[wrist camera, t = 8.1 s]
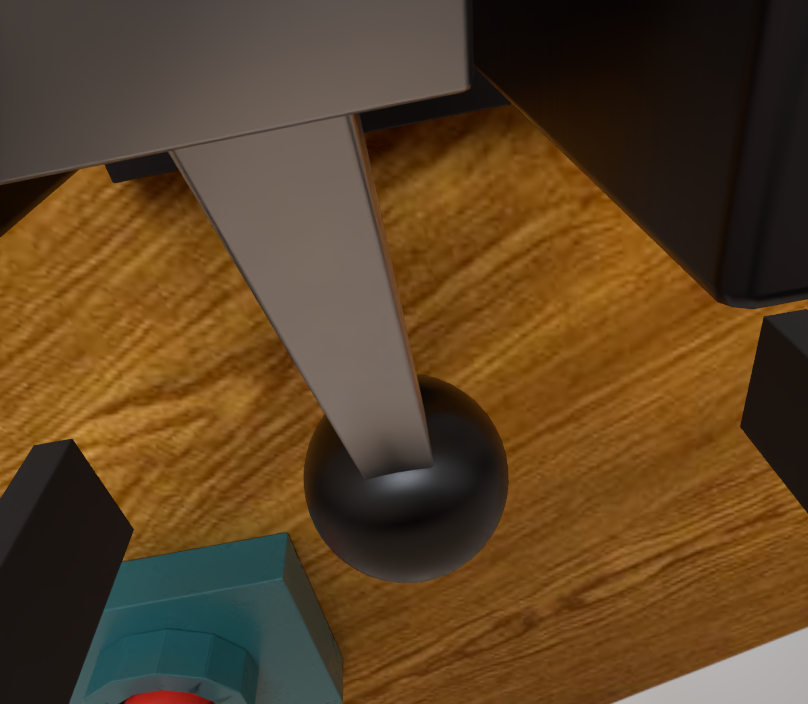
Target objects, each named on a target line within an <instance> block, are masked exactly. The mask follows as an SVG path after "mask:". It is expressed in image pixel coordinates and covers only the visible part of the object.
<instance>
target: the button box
mask: <svg viewBox="0 0 808 704" xmlns="http://www.w3.org/2000/svg"><path fill="white" fill-rule="evenodd" d="M160 690H165V691H176V692H187V693H193V694H195V695H198V696H200V697H203V698H205V699H208V700H210V701H212V702H214V703H215V704H341V703H343V657H342V655H341V653H340V651H339V648H338V646H337V644H336V641H335V639H334V637H333V635H332V632H331V630H330V628H329V626H328V623H327V621H326V619H325V617H324V614H323V612H322V610H321V608H320V605H319V603H318V601H317V599H316V596H315V594H314V592H313V590H312V587H311V585H310V583H309V581H308V578H307V576H306V574H305V572H304V569H303V567H302V565H301V563H300V560H299V558H298V556H297V554H296V551H295V549H294V547H293V545H292V542H291V540H290V538H289V535H288V533H281V534H276V535H270V536H265V537H259V538H253V539H248V540H242V541H237V542H231V543H226V544H220V545H215V546H209V547H204V548H198V549H192V550H187V551H181V552H176V553H170V554H165V555H159V556H154V557H148V558H143V559H137V560H131V561H126V562H122V563H121V565H120V568H119V571H118V573H117V576H116V579H115V581H114V584H113V587H112V590H111V592H110V595H109V598H108V600H107V603H106V606H105V608H104V611H103V614H102V616H101V619H100V622H99V624H98V627H97V630H96V633H95V635H94V638H93V641H92V643H91V646H90V649H89V651H88V654H87V657H86V659H85V662H84V665H83V667H82V670H81V673H80V676H79V678H78V681H77V684H76V686H75V689H74V692H73V694H72V697H71V700H70V702H69V704H124V702H125V701H126V699H128V698H129V697H131V696H133V695H137V694H143V693H148V692H154V691H160Z"/></svg>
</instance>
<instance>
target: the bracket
mask: <svg viewBox="0 0 808 704" xmlns="http://www.w3.org/2000/svg"><path fill="white" fill-rule="evenodd" d="M472 14H473V80H472V84H471V87H470V89H468V90H466V91H465V92H462V93H457V94H452V95H447V96H442V97H437V98H432V99H427V100H422V101H417V102H412V103H407V104H402V105H397V106H392V107H387V108H382V109H377V110H372V111H367V112H362V113H359V114H360V119H361V123H362V128H363V132H364V133H369V132H374V131H379V130H384V129H389V128H394V127H399V126H404V125H409V124H414V123H419V122H424V121H429V120H434V119H439V118H444V117H449V116H454V115H459V114H465V113H470V112H475V111H480V110H485V109H490V108H495V107H500V106H505V105H510V104H513V105H514V106H515V107H516V108H517V109H518V110H519V111H520V112H521V113H522V114H523V115H524V116H525V117H526V118H527V119H529V120H530V121H531V122H532V123H533V124H534V125H535V126H536V127H537V128H538V129H539V130H540V131H541V132H542V133H543V134H544V135H545V136H546V137H547V138H548V139H549V140H550V141H551V142H552V143H553V144H554V145H555V146H556V147H557V148H559V149H560V150H561V151H562V152H563V153H564V154H565V155H566V156H567V157H568V158H569V159H570V160H571V161H572V162H573V163H574V164H575V165H576V166H577V167H578V168H579V169H580V170H581V171H582V172H583V173H584V174H585V175H586V176H588V177H589V178H590V179H591V180H592V181H593V182H594V183H595V184H596V185H597V186H598V187H599V188H600V189H601V190H602V191H603V192H604V193H605V194H606V195H607V196H608V197H609V198H610V199H611V200H612V201H613V202H614V203H615V204H616V205H618V206H619V207H620V208H621V209H622V210H623V211H624V212H625V213H626V214H627V215H628V216H629V217H630V218H631V219H632V220H633V221H634V222H635V223H636V224H637V225H638V226H639V227H640V228H641V229H642V230H643V231H644V232H645V233H647V234H648V235H649V236H650V237H651V238H652V239H653V240H654V241H655V242H656V243H657V244H658V245H659V246H660V247H661V248H662V249H663V250H664V251H665V252H666V253H667V254H668V255H669V256H670V257H671V258H672V259H673V260H674V261H676V262H677V263H678V264H679V265H680V266H681V267H682V268H683V269H684V270H685V271H686V272H687V273H688V274H689V275H690V276H691V277H692V278H693V279H694V280H695V281H696V282H697V283H698V284H699V285H700V286H701V287H702V288H703V289H704V290H706V291H707V292H708V293H709V294H710V295H711V296H712V297H713V298H714V299H715V300H716V301H717V302H719V303H722V304H725V305H728V306H731V307H737V308H746V309H757V308H763V307H768V306H773V305H779V304H784V303H789V302H795V301H800V300H805V299H808V0H472ZM105 166H106V169H107V171H108V173H109V175H110V177H111V179H112V182H113V183H118V182H123V181H128V180H133V179H139V178H144V177H149V176H154V175H159V174H164V173H169V172H174V171H179V169H178V168H177V166H176V164H175V163H174V161H173V159H172V158H171V156H170V154H169V153H168V152H163V153H158V154H153V155H148V156H143V157H138V158H133V159H128V160H123V161H118V162H113V163H108V164H105ZM78 170H79V169H78ZM78 170H73V171H68V172H63V173H58V174H53V175H48V176H43V177H38V178H33V179H28V180H23V181H18V182H13V183H8V184H3V185H0V237H1V236H2V235H4V234H5V233H6V232H7V231H8V230H9V229H11V228H12V227H13V226H14V225H15V224H16V223H18V222H19V221H20V220H21V219H22V218H23V217H25V216H26V215H27V214H28V213H29V212H30V211H32V210H33V209H34V208H35V207H36V206H37V205H38V204H40V203H41V202H42V201H43V200H44V199H45V198H47V197H48V196H49V195H50V194H51V193H52V192H54V191H55V190H56V189H57V188H58V187H59V186H61V185H62V184H63V183H64V182H65V181H66V180H68V179H69V178H70V177H71V176H72V175H73V174H75V173H76V172H77V171H78Z"/></svg>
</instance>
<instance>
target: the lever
mask: <svg viewBox="0 0 808 704" xmlns="http://www.w3.org/2000/svg"><path fill="white" fill-rule="evenodd" d="M472 80H473V14H472V0H0V185H3V184H8V183H13V182H18V181H23V180H28V179H33V178H38V177H43V176H48V175H53V174H58V173H63V172H68V171H73V170H78V169H83V168H88V167H93V166H98V165H103V164H108V163H113V162H118V161H123V160H128V159H133V158H138V157H143V156H148V155H153V154H158V153H163V152H168V153H169V154H170V156H171V158H172V159H173V161H174V163H175V164H176V166H177V168H178V169H179V171H180V173H181V174H182V176H183V178H184V179H185V181H186V183H187V184H188V186H189V188H190V189H191V191H192V193H193V194H194V196H195V198H196V199H197V201H198V203H199V204H200V206H201V208H202V209H203V211H204V213H205V214H206V216H207V218H208V219H209V221H210V223H211V224H212V226H213V228H214V229H215V231H216V233H217V234H218V236H219V238H220V239H221V241H222V243H223V244H224V246H225V248H226V249H227V251H228V253H229V254H230V256H231V258H232V259H233V261H234V263H235V264H236V266H237V268H238V269H239V271H240V273H241V275H242V276H243V278H244V280H245V281H246V283H247V285H248V286H249V288H250V290H251V291H252V293H253V295H254V296H255V298H256V300H257V301H258V303H259V305H260V306H261V308H262V310H263V311H264V313H265V315H266V316H267V318H268V320H269V321H270V323H271V325H272V326H273V328H274V330H275V331H276V333H277V335H278V336H279V338H280V340H281V341H282V343H283V345H284V346H285V348H286V350H287V351H288V353H289V355H290V356H291V358H292V360H293V361H294V363H295V365H296V366H297V368H298V370H299V371H300V373H301V375H302V376H303V378H304V380H305V381H306V383H307V385H308V386H309V388H310V390H311V391H312V393H313V395H314V396H315V398H316V400H317V401H318V403H319V405H320V406H321V408H322V410H323V411H324V413H325V415H324V416H323V418H322V419H321V421H320V423H319V424H318V426H317V428H316V430H315V432H314V434H313V436H312V438H311V441H310V443H309V447H308V450H307V454H306V459H305V466H304V490H305V497H306V502H307V506H308V509H309V513H310V516H311V518H312V520H313V523H314V525H315V527H316V529H317V531H318V532H319V534H320V535H321V537H322V539H323V540H324V541H325V543H326V544H327V545H328V546H329V547H330V549H331V550H332V551H333V552H334V553H335V554H336V555H337V556H338V557H339V558H340V559H342V560H343V561H344V562H345V563H347V564H348V565H350V566H351V567H353V568H354V569H356V570H358V571H360V572H362V573H364V574H366V575H368V576H371V577H374V578H377V579H380V580H384V581H390V582H396V583H417V582H424V581H429V580H432V579H435V578H438V577H442V576H444V575H447V574H449V573H451V572H452V571H454V570H456V569H458V568H460V567H461V566H463V565H464V564H465V563H467V562H468V561H469V560H471V559H472V558H473V557H474V556H475V555H476V554H477V553H478V552H479V551H480V550H481V549H482V548H483V547H484V546H485V544H486V543H487V542H488V540H489V539H490V538H491V536H492V535H493V533H494V531H495V529H496V527H497V526H498V523H499V521H500V518H501V516H502V513H503V511H504V507H505V503H506V499H507V493H508V483H509V482H508V465H507V459H506V453H505V450H504V446H503V443H502V440H501V438H500V436H499V434H498V432H497V430H496V428H495V426H494V424H493V422H492V421H491V419H490V418H489V416H488V415H487V413H486V412H485V411H484V410H483V409H482V408H481V407H480V406H479V404H478V403H477V402H476V401H474V400H473V399H472V398H471V397H470V396H469V395H467V394H466V393H465V392H463V391H461V390H460V389H458V388H457V387H455V386H453V385H452V384H449V383H447V382H445V381H442V380H440V379H437V378H434V377H429V376H424V375H419V374H416V370H415V365H414V361H413V356H412V352H411V347H410V342H409V338H408V333H407V329H406V324H405V320H404V315H403V310H402V306H401V301H400V297H399V292H398V288H397V283H396V278H395V274H394V269H393V265H392V260H391V256H390V251H389V247H388V242H387V237H386V233H385V228H384V224H383V219H382V215H381V210H380V205H379V201H378V196H377V192H376V187H375V183H374V178H373V173H372V169H371V164H370V160H369V155H368V151H367V146H366V141H365V137H364V132H363V128H362V123H361V119H360V114H359V113H362V112H367V111H372V110H377V109H382V108H387V107H392V106H397V105H402V104H407V103H412V102H417V101H422V100H427V99H432V98H437V97H442V96H447V95H452V94H457V93H462V92H465V91H466V90H468V89H470V87H471V84H472Z"/></svg>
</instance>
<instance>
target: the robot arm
mask: <svg viewBox="0 0 808 704" xmlns="http://www.w3.org/2000/svg"><path fill="white" fill-rule="evenodd" d="M740 427H741V429H742V430H743V431H744V433H745V434H746V435H747V436H748V438H749V439H750V440H751V441H752V443H753V444H754V445H755V447H756V448H757V449H758V450H759V452H760V453H761V454H762V456H763V457H764V458H765V459H766V461H767V462H768V463H769V464H770V466H771V467H772V468H773V470H774V471H775V472H776V473H777V475H778V476H779V477H780V479H781V480H782V481H783V482H784V484H785V485H786V486H787V487H788V489H789V490H790V491H791V493H792V494H793V495H794V496H795V498H796V499H797V500H798V502H799V503H800V504H801V505H802V507H803V508H804V509H805V510H806V512H807V513H808V310H807V309H804V310H798V311H793V312H787V313H781V314H776V315H770V316H764V318H763V323H762V327H761V332H760V337H759V341H758V346H757V351H756V355H755V360H754V365H753V369H752V374H751V379H750V383H749V388H748V393H747V397H746V402H745V407H744V411H743V416H742V421H741V425H740ZM133 530H134V529H133V527H132V526H131V524H130V523H129V522H128V520H127V519H126V517H125V516H124V514H123V513H122V511H121V510H120V508H119V507H118V505H117V504H116V502H115V501H114V499H113V498H112V496H111V495H110V494H109V492H108V491H107V489H106V488H105V486H104V485H103V483H102V482H101V480H100V479H99V477H98V476H97V474H96V473H95V471H94V470H93V468H92V467H91V466H90V464H89V463H88V461H87V460H86V458H85V457H84V455H83V454H82V452H81V451H80V449H79V448H78V446H77V445H76V443H75V442H74V441H73V439H68V440H62V441H56V442H51V443H45V444H39V445H34V446H33V448H32V449H31V451H30V453H29V454H28V456H27V457H26V459H25V460H24V462H23V464H22V465H21V467H20V468H19V470H18V472H17V473H16V475H15V476H14V478H13V480H12V481H11V483H10V484H9V486H8V488H7V489H6V491H5V492H4V494H3V495H2V497H1V499H0V704H69V702H70V700H71V697H72V694H73V692H74V689H75V686H76V684H77V681H78V678H79V676H80V673H81V670H82V667H83V665H84V662H85V659H86V657H87V654H88V651H89V649H90V646H91V643H92V641H93V638H94V635H95V633H96V630H97V627H98V624H99V622H100V619H101V616H102V614H103V611H104V608H105V606H106V603H107V600H108V598H109V595H110V592H111V590H112V587H113V584H114V581H115V579H116V576H117V573H118V571H119V568H120V565H121V563H122V560H123V557H124V555H125V552H126V549H127V547H128V544H129V541H130V538H131V536H132V533H133Z"/></svg>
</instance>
